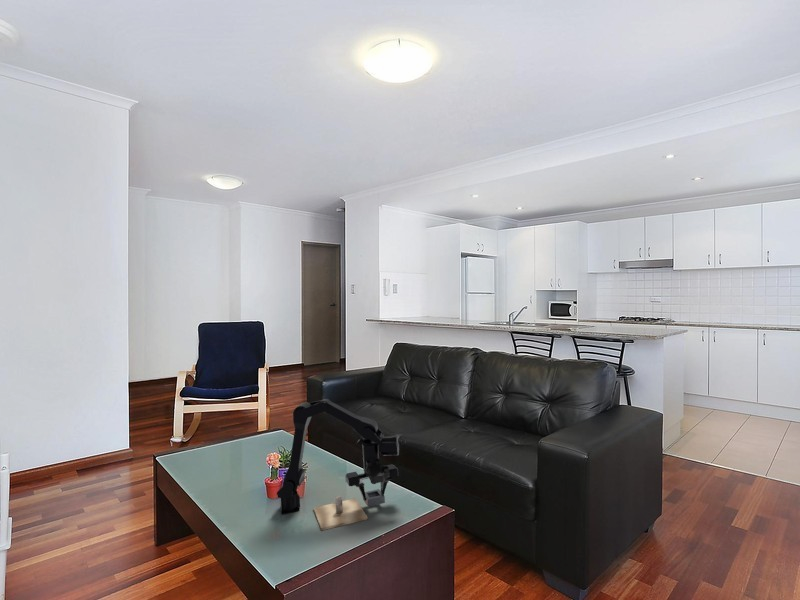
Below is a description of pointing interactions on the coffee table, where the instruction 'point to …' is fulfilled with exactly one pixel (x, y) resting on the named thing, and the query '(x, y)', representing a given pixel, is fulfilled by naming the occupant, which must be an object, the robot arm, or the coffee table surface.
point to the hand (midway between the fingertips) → (373, 498)
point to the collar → (374, 497)
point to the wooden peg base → (339, 513)
